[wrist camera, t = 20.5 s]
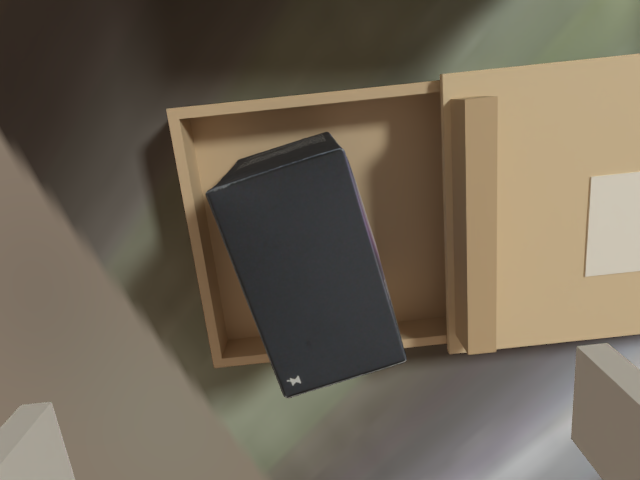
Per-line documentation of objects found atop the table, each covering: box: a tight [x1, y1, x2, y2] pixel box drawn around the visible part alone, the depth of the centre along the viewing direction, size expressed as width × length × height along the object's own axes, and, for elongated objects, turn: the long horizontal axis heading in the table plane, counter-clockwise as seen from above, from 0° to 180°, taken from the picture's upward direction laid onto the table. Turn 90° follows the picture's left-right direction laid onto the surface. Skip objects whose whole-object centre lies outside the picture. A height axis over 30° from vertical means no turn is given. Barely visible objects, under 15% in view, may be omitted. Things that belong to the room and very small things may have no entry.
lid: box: [440, 54, 640, 355], centre depth 27 cm, size 17×20×3 cm
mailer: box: [166, 80, 447, 368], centre depth 30 cm, size 16×20×4 cm
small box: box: [206, 132, 406, 398], centre depth 26 cm, size 11×6×10 cm, turn 18°
